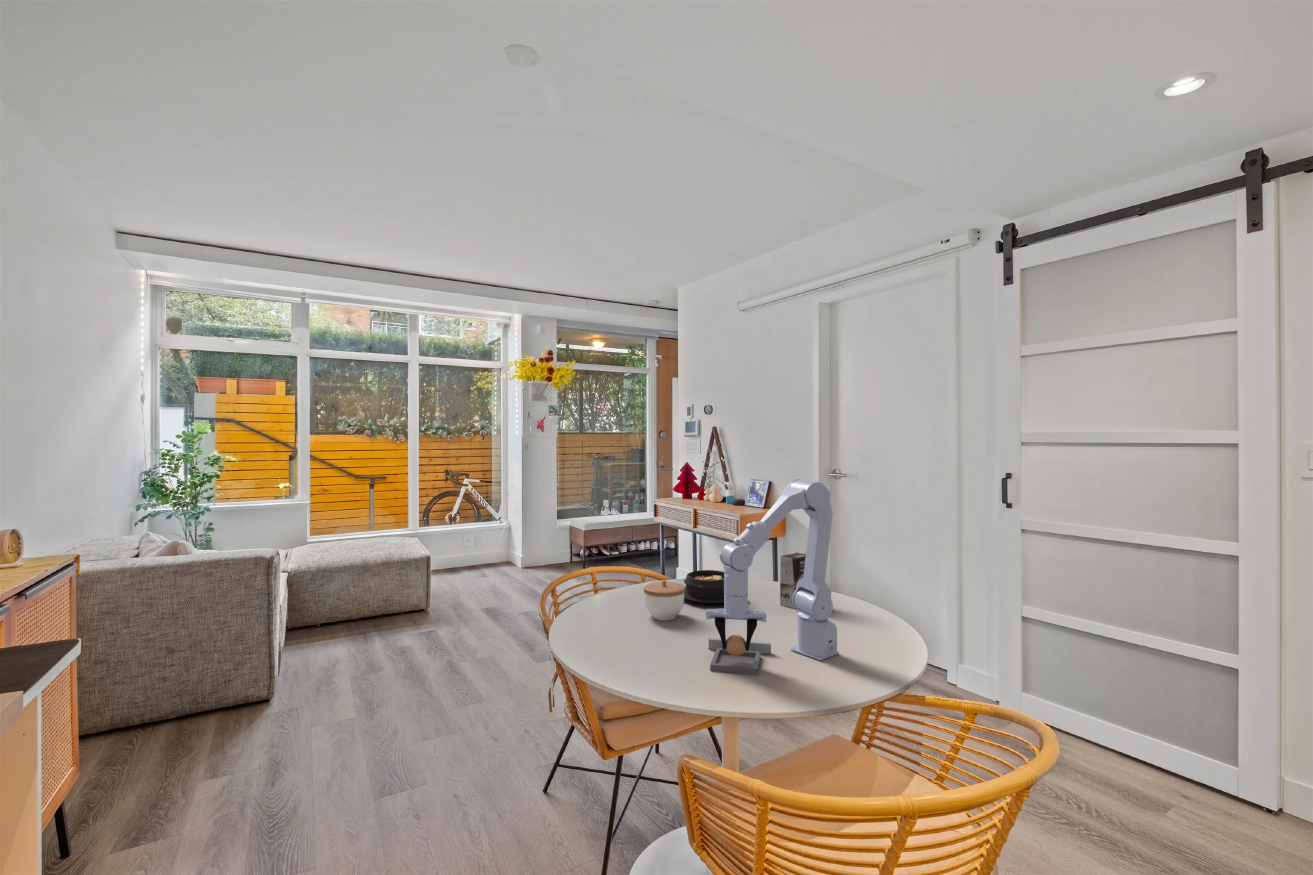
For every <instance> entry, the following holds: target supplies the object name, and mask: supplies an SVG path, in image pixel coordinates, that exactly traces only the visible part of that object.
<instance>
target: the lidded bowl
mask: <svg viewBox="0 0 1313 875" xmlns="http://www.w3.org/2000/svg"><path fill="white" fill-rule="evenodd" d="M684 592H685V585H684V584H682V583H678V582H675V581H667V580H666V579H663V580H662V581H656V582H650V583H647V584H645V585H644V586H643V600H644V605H645V608H646V610H647V612H648V613H649V614H650V615H651V616H652V618H653V619H655V620H659V621H670V620H675V619H676V618H677V616H678V615H679V613H681V611H682V610H683V607H684V604H685V603H684V602H685V598H684V595H685V593H684Z"/></svg>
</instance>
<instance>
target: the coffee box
mask: <svg viewBox="0 0 1313 875" xmlns="http://www.w3.org/2000/svg"><path fill="white" fill-rule="evenodd" d="M805 558H806V553H800V552H794V553H790V554H789V553H788V554H784V555H780V565H779V568H780V572H779V573H780V574H779V575H780V576H779V584H780V585H779V605H780V606H784V607H787V608H790V609H793V610H797V609H796V608H795V607H794V605H793V603H792V597H793V594H794V592H795V590H796V587H797V582H798V581H799V580H801V579H802V578H803V576H804V567H805Z"/></svg>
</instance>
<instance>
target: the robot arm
mask: <svg viewBox="0 0 1313 875" xmlns="http://www.w3.org/2000/svg"><path fill="white" fill-rule="evenodd" d="M830 498H831V490H829V489H828V488H827V486H825V484H824V483H822V482H818V481H815V482H814V481H808V480H802V479H794V480H792V481H790V482H789V484H788V485H787V486H786V487H784V489H783V490H782V493H781V495H780V496H779V498H778V499H777V500H776V501H775V502H774V503H773V505H772V506H771V507H770V508H769V510H767V512H766V513H765V515H764V516H763V517H762V518H761V519H760V520H759V521H752V522H751V523H750V522H749V523H747V524H746V525H745V527H746V528H745V530H743V531H742V533H740V535H738V537H736V538H734V539H733V540H732V541H733V542H730V543H727V544H725V545H724V547H723V548H722V550H721V553H720V554H719V560H720V562H721V563H722V564H723V570H724V571H723V572H724V603H723V604H724V605H723V608H707V609H706V610H705V620H711V619H714V626H715V628H716V630H717V632H718V634H719V637H720V638H719V639H721V641H722V646H723V650H726V640H727V637H726V620H737V621H738V620H739V621H746V638H745V639H746V640H745V641H746V651H749V646H750V642H752V638H753V635H754V633H755V631H756V629H757V626H758V622H760V621H761V622H762V623H766V622H767V611H761V610H754V609H749V601H748V600H749V593H748V592H749V581H748V580H749V572H748V571H749V569H748V568H750V567H751V566H752V564H753V560H754V557H755V555H756V553H757V552H758V551H759V550H760V549H761V548H762V547H763V546H764V545H765V544H766V543H767V542H768V541H769V539H770V538H771V530H773V529H774V528H775V527H776V526H777V525H778V524H779V523H780V522H781V521H782V520H784V518H786V517H787V515H788V514H790V513H791V512H792V511H794V510H803V511H804V512H805V513H806V514H807V515H808V517H809V525H808V531H807V532H808V533H807V541H806V549H805V550H806V551H805V554H806V558H805V567H804V576H803V578H802V579H801V580H799V581H798V582H797V587H796V590H795V592H794V594H793V597H792V603H793V605H794V607H795V608H796V609H795V610H796V614H797V645H795V646H792V647H790V651H793V652H796V653H798V654H801V655H804V656H807V657H809V658H812V659H815V660H818V661H823V660H825V659H828V658H830V657H833V656H835V655H838V654H839V653H840V652H839V650H838V628H837V625H836V624H835V622H832V621H830V619H829V617H831V614H832V612H833V609H834V605H833V600H832V590H831V588H830V586H829V584H828V583H827V581H826V577H827V575H826V574H827V567H828V558H829V549H830V540H831V533H832V531H831V530H832V521H833V509H832V505H831V501H830V500H831V499H830Z"/></svg>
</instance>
